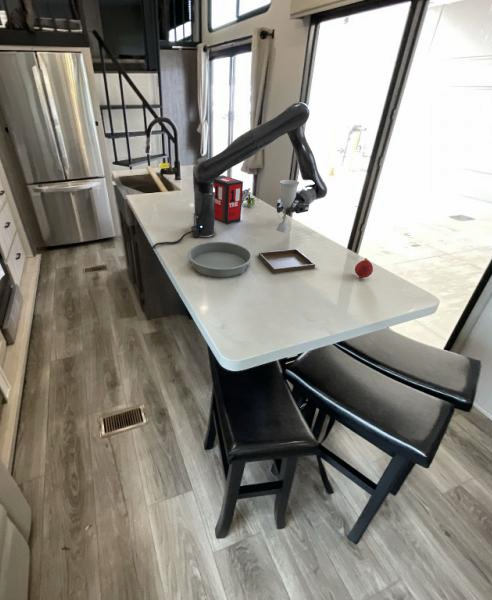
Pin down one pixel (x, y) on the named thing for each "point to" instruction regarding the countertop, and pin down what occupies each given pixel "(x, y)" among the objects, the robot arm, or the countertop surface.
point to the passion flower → (245, 197)
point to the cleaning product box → (228, 199)
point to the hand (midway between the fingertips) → (282, 211)
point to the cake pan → (219, 258)
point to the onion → (364, 268)
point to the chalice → (287, 200)
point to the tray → (286, 260)
